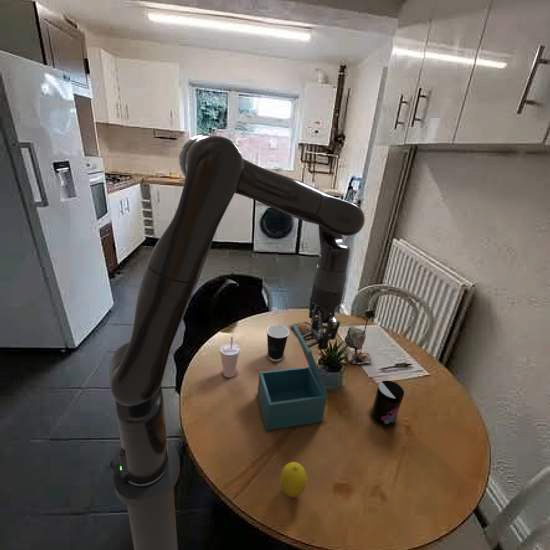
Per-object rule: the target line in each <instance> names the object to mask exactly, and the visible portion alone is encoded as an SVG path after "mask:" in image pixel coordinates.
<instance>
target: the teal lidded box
mask: <svg viewBox="0 0 550 550" xmlns="http://www.w3.org/2000/svg"><path fill="white" fill-rule="evenodd" d="M257 385H258V386H257V398H258V402H259V405H260V409H261V413H262V417H263V420H264V425H265V428H266V429H265V430H266V431H271V430H278V429H285V428H290V427H291V428H292V427H297V426H304V425H311V424H316V423H322V421H323V417H324V412H325V408H326V402H327V396H326V397H325V395H324V393H323V391H322V389H321V388H320V386H319V384H318V382H317V380H316V378H315V376H314V374H313V372H312V370H311V369H310V367H309V366H301V367H293V368H284V369H283V368H282V369H275V370H274V369H273V370H265V371H259V372H258V383H257Z"/></svg>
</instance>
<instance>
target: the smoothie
mask: <svg viewBox="0 0 550 550" xmlns="http://www.w3.org/2000/svg"><path fill="white" fill-rule="evenodd" d="M233 341H234V336H233V335H231V336H230V342H227V343H224V344H222V345H221V346H220V348H219V354H220V358H221V366H222V372H223V373H222V374H223V376H224V377H225V378H229V379H230V378H233V377H235V375H236V371H237V367H238V366H237V365H238V359H239V355H240V354H241V347H240V345H238V344H236V343H234V342H233Z"/></svg>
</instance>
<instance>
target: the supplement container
mask: <svg viewBox="0 0 550 550" xmlns="http://www.w3.org/2000/svg"><path fill="white" fill-rule="evenodd" d="M377 385H378V386H377V390H376V394H375V397H374V401H373V405H372V409H371V416H372V418H373V419H374V421H375V422H376V423H378V424H379V425H381V426H386V427H390V426H392V425H394V424H395V423H396V420H397V418H398V414H399V412H400V408H401V405H402V401H403V399H404V397H405V391H404V389H403V387H402V386H401V385H399V384H398V383H396V382H395V381H392V380H382V381H380V382H379V383H378V384H377Z"/></svg>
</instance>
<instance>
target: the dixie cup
mask: <svg viewBox="0 0 550 550" xmlns="http://www.w3.org/2000/svg"><path fill="white" fill-rule="evenodd" d="M265 332H266V338H267V339H266V341H267V343H266V344H267V356H268V359H269V360H270V361H272V362H280V361H281V360H282V359H283V357H284V355H285V349H286V347H287V342H288V338H289V335H290V329H288V327H286V326H284V325H282V324H271V325H269V326H268V327H266V331H265Z"/></svg>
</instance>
